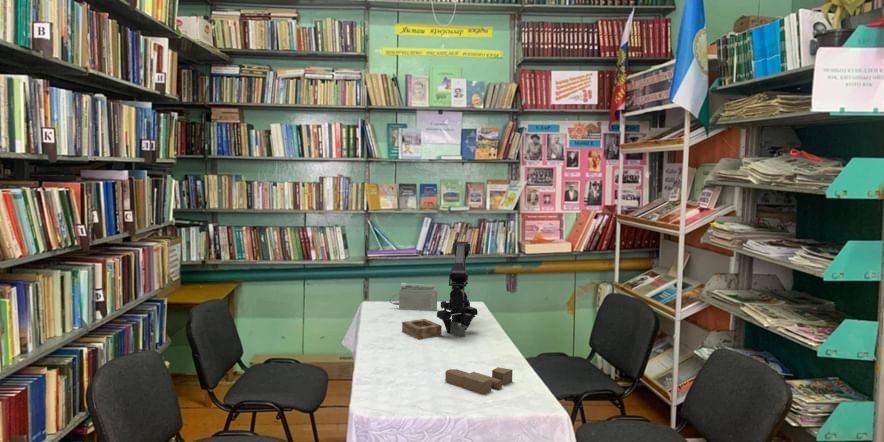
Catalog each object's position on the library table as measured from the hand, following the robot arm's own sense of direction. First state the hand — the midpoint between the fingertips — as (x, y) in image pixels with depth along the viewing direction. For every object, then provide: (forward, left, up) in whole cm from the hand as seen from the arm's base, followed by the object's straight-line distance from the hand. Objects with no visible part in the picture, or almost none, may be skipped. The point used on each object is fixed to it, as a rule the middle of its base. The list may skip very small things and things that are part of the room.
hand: (456, 331), depth 271 cm
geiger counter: (-7, -50, -2) cm, 51 cm away
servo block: (0, 0, -1) cm, 1 cm away
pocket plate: (+13, -9, -1) cm, 16 cm away
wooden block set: (+28, +53, -2) cm, 60 cm away
